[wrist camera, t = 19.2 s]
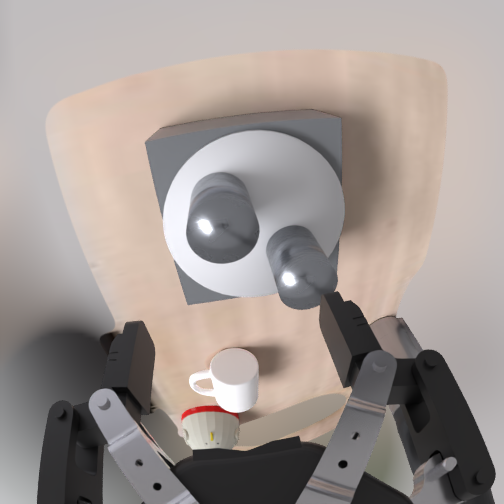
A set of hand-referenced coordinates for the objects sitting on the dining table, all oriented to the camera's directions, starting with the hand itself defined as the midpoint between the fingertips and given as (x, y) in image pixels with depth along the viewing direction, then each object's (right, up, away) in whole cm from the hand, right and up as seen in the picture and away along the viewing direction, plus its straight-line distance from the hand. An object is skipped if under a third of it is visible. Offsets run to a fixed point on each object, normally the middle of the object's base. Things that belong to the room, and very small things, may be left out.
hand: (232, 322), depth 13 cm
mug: (-5, -17, +39) cm, 43 cm away
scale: (0, +10, +22) cm, 24 cm away
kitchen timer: (-9, -37, +50) cm, 63 cm away
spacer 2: (+5, +4, +16) cm, 17 cm away
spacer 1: (-2, +8, +12) cm, 15 cm away
